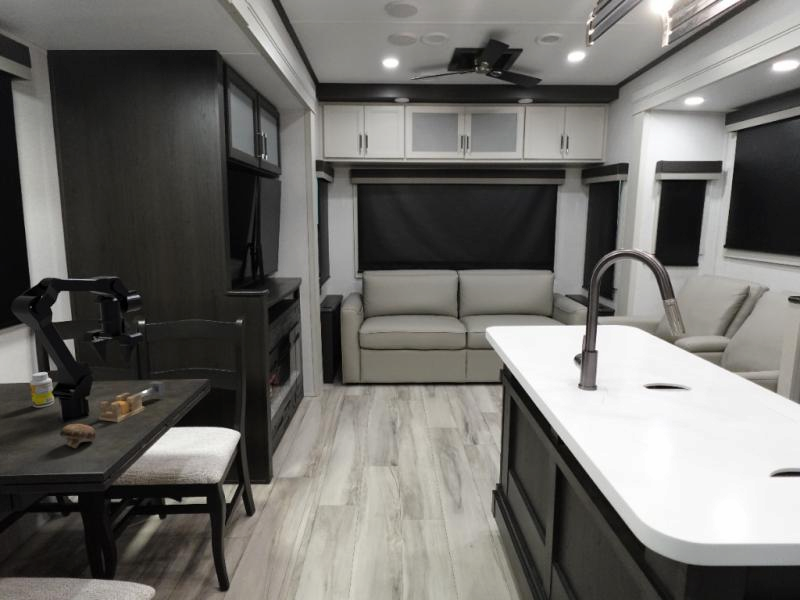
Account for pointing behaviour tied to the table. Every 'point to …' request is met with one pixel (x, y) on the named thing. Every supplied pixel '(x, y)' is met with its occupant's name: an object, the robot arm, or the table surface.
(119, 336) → the robot arm
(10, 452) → the table surface
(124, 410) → the block
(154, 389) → the shaft
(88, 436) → the mushroom
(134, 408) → the bearing block
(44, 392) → the supplement bottle
